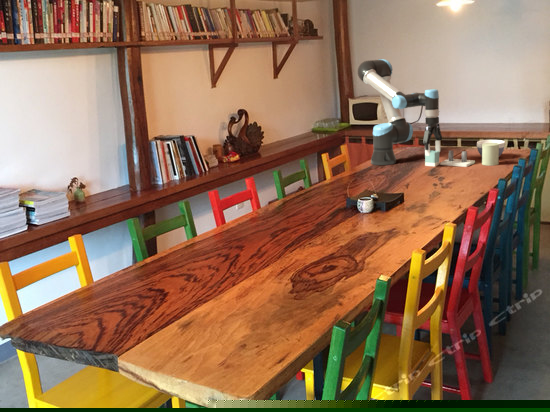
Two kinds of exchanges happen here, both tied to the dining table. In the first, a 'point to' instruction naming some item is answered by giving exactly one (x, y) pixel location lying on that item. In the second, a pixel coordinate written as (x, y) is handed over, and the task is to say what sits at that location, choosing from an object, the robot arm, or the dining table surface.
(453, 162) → the pinboard
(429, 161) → the sleeve
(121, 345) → the dining table surface
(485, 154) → the can
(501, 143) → the bowl
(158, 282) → the dining table surface
